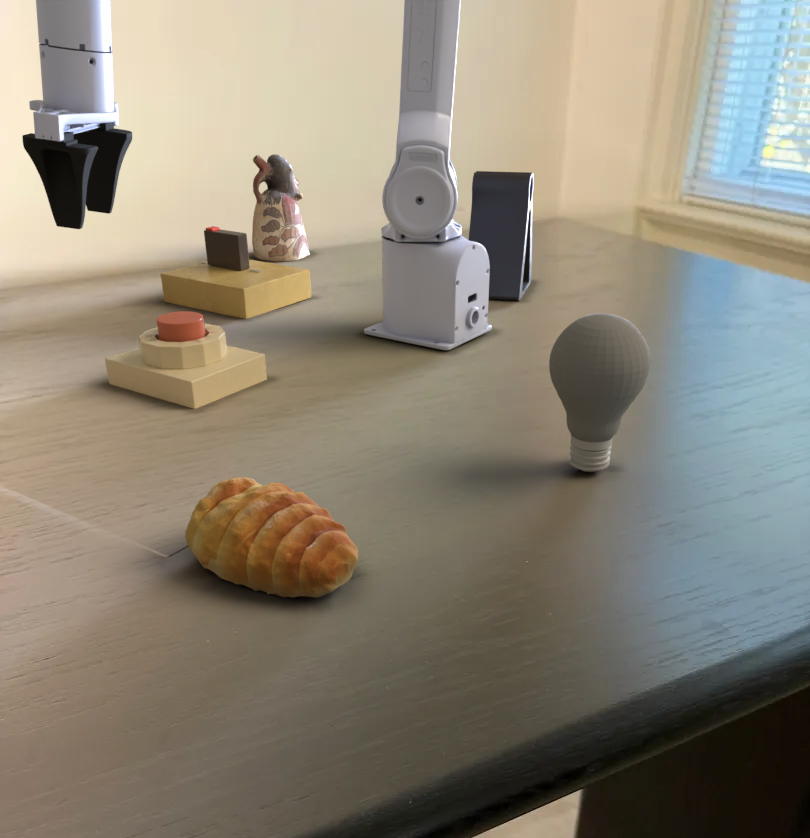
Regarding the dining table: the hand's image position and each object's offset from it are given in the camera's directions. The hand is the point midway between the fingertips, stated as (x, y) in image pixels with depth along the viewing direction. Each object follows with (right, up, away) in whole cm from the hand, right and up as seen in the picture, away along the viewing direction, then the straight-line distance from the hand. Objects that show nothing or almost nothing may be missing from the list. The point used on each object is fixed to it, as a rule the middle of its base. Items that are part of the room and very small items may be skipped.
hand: (85, 219), depth 80 cm
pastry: (+22, -30, -32) cm, 49 cm away
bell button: (+11, -13, -10) cm, 20 cm away
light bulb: (+41, -25, -23) cm, 53 cm away
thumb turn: (+10, 0, +15) cm, 18 cm away
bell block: (+11, -16, -8) cm, 21 cm away
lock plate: (+11, -3, +15) cm, 19 cm away
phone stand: (+39, -2, +18) cm, 43 cm away
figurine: (+13, +7, +34) cm, 37 cm away
